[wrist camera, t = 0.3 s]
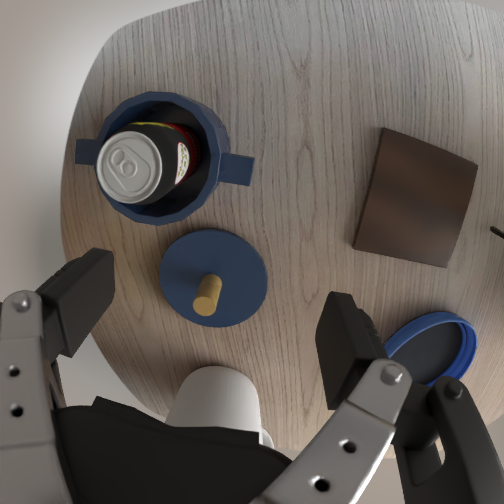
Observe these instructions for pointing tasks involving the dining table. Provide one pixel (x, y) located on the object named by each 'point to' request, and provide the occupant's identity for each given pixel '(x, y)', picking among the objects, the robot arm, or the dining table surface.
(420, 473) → the robot arm
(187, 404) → the cup
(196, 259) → the pot lid
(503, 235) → the planter
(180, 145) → the beverage can
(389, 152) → the trivet
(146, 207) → the pot
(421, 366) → the bowl
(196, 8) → the dining table surface
